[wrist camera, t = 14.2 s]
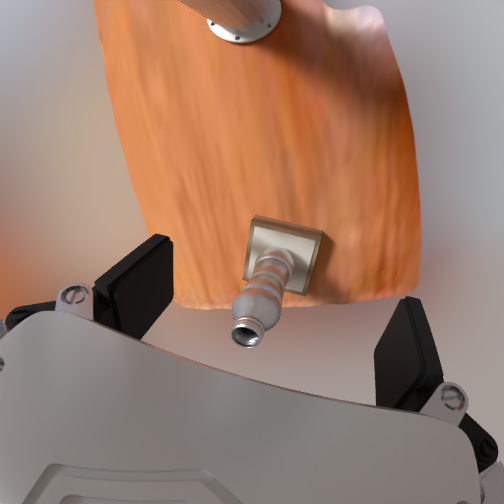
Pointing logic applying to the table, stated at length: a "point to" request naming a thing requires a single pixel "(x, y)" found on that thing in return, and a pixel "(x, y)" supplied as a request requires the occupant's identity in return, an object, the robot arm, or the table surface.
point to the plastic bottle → (261, 297)
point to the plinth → (289, 238)
